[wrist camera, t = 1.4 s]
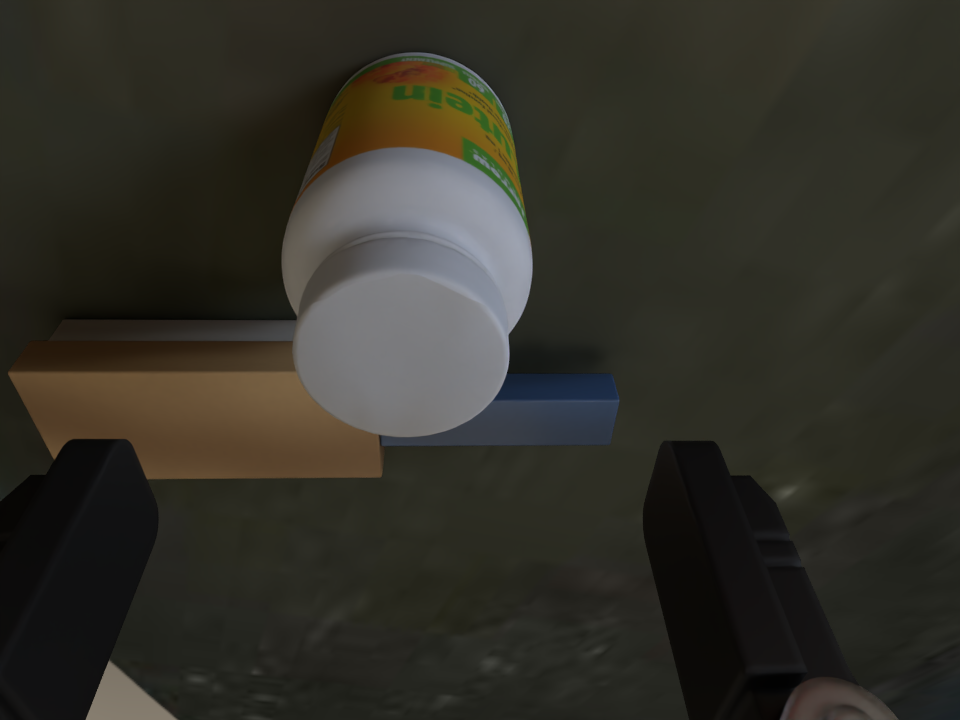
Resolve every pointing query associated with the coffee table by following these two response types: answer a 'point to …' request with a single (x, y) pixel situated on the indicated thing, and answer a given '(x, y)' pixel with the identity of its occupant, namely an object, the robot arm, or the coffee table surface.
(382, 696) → the coffee table surface
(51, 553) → the robot arm
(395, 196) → the supplement bottle
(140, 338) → the brush
